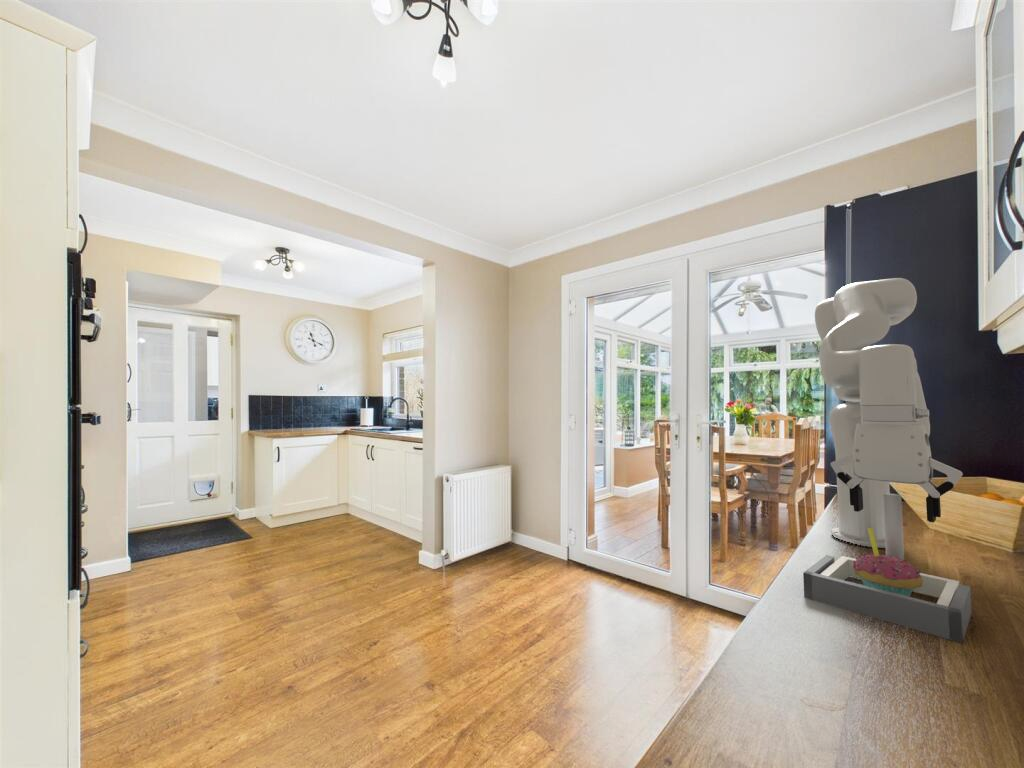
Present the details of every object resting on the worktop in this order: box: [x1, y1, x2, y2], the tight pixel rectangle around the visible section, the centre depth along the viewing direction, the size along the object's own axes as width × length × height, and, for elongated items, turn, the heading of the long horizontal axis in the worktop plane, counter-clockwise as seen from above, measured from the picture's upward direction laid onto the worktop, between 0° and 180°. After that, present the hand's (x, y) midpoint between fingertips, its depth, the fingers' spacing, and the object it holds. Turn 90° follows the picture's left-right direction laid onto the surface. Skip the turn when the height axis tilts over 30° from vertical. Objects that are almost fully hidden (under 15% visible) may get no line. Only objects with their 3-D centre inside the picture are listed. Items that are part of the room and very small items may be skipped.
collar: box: [820, 492, 960, 607], centre depth 72 cm, size 15×15×16 cm
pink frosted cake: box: [853, 523, 923, 597], centre depth 72 cm, size 9×8×12 cm
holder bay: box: [802, 554, 973, 644], centre depth 70 cm, size 12×18×4 cm
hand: (893, 515), depth 76 cm, fingers open, 9 cm apart
